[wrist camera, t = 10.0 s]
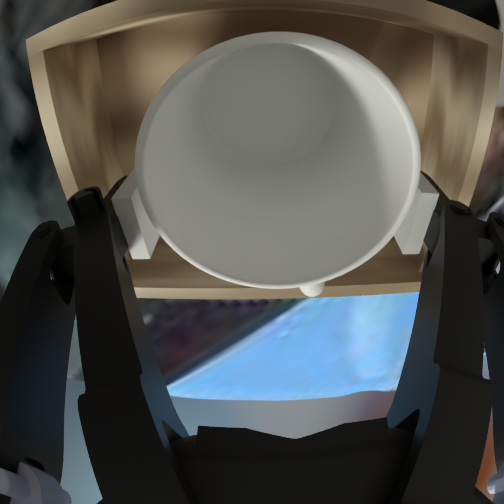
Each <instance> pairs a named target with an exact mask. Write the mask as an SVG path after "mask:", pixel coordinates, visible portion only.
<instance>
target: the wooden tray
mask: <svg viewBox="0 0 504 504" xmlns="http://www.w3.org/2000/svg"><path fill="white" fill-rule="evenodd" d="M262 32H297V33H305V34H310V35H314V36H318V37H323V38H326V39H328V40H331V41H334V42H337V43H339V44H341V45H343V46H346V47H348V48H350V49H352V50H354V51H355V52H357V53H358V54H360V55H362V56H363V57H365V58H366V59H368V60H369V61H370V62H371V63H373V64H374V65H375V66H376V67H378V68H379V69H380V70H381V71H382V72H383V73H384V74H385V75H386V76H387V77H388V78H389V79H390V80H391V82H392V83H393V84H394V85H395V87H396V88H397V89H398V91H399V92H400V93H401V95H402V97H403V98H404V100H405V102H406V104H407V105H408V107H409V110H410V112H411V114H412V116H413V119H414V122H415V125H416V128H417V132H418V137H419V142H420V151H421V171H423V172H424V173H426V174H427V175H429V176H430V177H431V178H432V179H433V181H434V182H435V183H436V184H437V185H438V186H439V188H440V189H441V190H442V191H443V192H444V193H445V194H446V196H447V197H448V198H449V199H450V200H456V201H459V202H461V203H463V204H465V205H466V206H468V207H469V204H470V201H471V198H472V195H473V192H474V189H475V186H476V183H477V180H478V177H479V173H480V170H481V166H482V163H483V159H484V156H485V152H486V148H487V144H488V140H489V135H490V131H491V126H492V121H493V116H494V111H495V105H496V99H497V93H498V86H499V78H500V69H501V58H502V41H503V33H502V32H500V31H498V30H497V29H495V28H493V27H491V26H489V25H487V24H484V23H482V22H480V21H478V20H476V19H474V18H471V17H469V16H467V15H464V14H462V13H459V12H457V11H454V10H452V9H449V8H447V7H444V6H441V5H438V4H435V3H432V2H429V1H426V0H117V1H114V2H111V3H108V4H105V5H102V6H100V7H97V8H94V9H91V10H89V11H86V12H84V13H81V14H79V15H76V16H74V17H72V18H69V19H67V20H65V21H62V22H60V23H58V24H56V25H54V26H52V27H50V28H48V29H46V30H44V31H42V32H40V33H38V34H36V35H34V36H32V37H30V38H28V39H27V40H26V45H27V52H28V59H29V65H30V71H31V76H32V81H33V86H34V91H35V96H36V100H37V104H38V109H39V113H40V117H41V120H42V124H43V128H44V131H45V135H46V138H47V142H48V145H49V148H50V152H51V155H52V158H53V161H54V164H55V167H56V170H57V173H58V176H59V179H60V182H61V184H62V187H63V190H64V192H65V195H66V198H67V200H68V199H69V198H70V197H71V196H72V195H73V194H75V193H76V192H78V191H80V190H82V189H84V188H87V187H92V186H96V187H99V188H100V190H101V193H102V196H103V199H104V197H105V196H106V195H107V194H108V192H109V191H110V189H112V187H113V186H114V184H115V183H116V182H117V181H118V180H120V179H121V178H122V177H124V176H128V175H129V174H130V173H131V171H132V170H133V169H134V168H135V150H136V144H137V138H138V134H139V130H140V127H141V124H142V121H143V118H144V116H145V114H146V111H147V109H148V107H149V106H150V104H151V102H152V100H153V99H154V97H155V95H156V94H157V93H158V91H159V90H160V89H161V87H162V86H163V85H164V83H165V82H166V81H167V80H168V79H169V78H170V77H171V76H172V75H173V74H174V73H175V72H176V71H177V70H178V69H179V68H180V67H182V66H183V65H184V64H185V63H186V62H188V61H189V60H191V59H192V58H194V57H195V56H197V55H198V54H200V53H201V52H203V51H205V50H207V49H209V48H211V47H213V46H215V45H217V44H219V43H222V42H225V41H227V40H230V39H233V38H236V37H240V36H244V35H249V34H254V33H262ZM427 250H428V248H427V246H426V244H425V243H424V242H423V245H422V247H421V250H420V253H419V254H402V251H401V249H400V247H399V245H398V243H397V241H396V239H395V237H394V236H393V237H392V238H391V240H390V241H389V242H388V243H387V244H386V245H385V246H384V247H383V248H382V249H381V250H380V251H379V252H377V253H376V254H375V255H374V256H373V257H371V258H370V259H369V260H367V261H366V262H364V263H363V264H361V265H360V266H358V267H356V268H355V269H353V270H351V271H349V272H347V273H345V274H343V275H341V276H338V277H336V278H333V279H331V280H328V281H325V287H324V289H323V291H322V292H321V293H320V294H319V295H317V296H315V297H309V296H307V295H305V294H304V293H303V292H302V291H301V290H300V287H297V288H287V289H267V288H256V287H250V286H244V285H240V284H236V283H232V282H229V281H226V280H223V279H220V278H217V277H215V276H213V275H210V274H208V273H206V272H204V271H203V270H201V269H199V268H197V267H196V266H194V265H192V264H191V263H189V262H188V261H187V260H185V259H184V258H183V257H181V256H180V255H179V254H178V253H177V252H175V251H174V250H173V249H172V248H171V247H170V246H169V245H168V244H167V243H166V242H165V241H164V239H163V238H162V237H161V236H159V238H158V241H157V243H156V246H155V248H154V251H153V253H152V256H151V258H150V259H132V256H131V254H130V251H129V248H128V249H127V251H126V253H125V258H126V260H127V263H128V266H129V270H130V274H131V278H132V282H133V286H134V290H135V293H136V297H137V298H169V299H281V298H317V297H342V296H362V295H379V294H395V293H409V292H420V286H421V280H422V273H423V270H422V272H421V273H420V272H419V270H420V267H421V265H422V262H423V260H424V258H425V255H426V253H427Z"/></svg>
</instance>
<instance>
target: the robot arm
mask: <svg viewBox="0 0 504 504" xmlns="http://www.w3.org/2000/svg"><path fill="white" fill-rule="evenodd" d="M67 204H68V206H69V209H70V211H71V214H72V216H73V218H74V221H75V225H74V226H71V227H68V228H65V229H62V230H61V229H60V227H59V224H58V223H57V221H54V220H52V221H48V222H44V223H42V224H40V225H39V226H38V227H37V228H36V229H35V230H34V231H33V232H32V234H31V235H30V237H29V239H28V241H27V243H26V245H25V247H24V249H23V252H22V254H21V256H20V258H19V260H18V262H17V265H16V267H15V269H14V271H13V274H12V276H11V278H10V281H9V283H8V286H7V288H6V291H5V293H4V296H3V298H2V301H1V304H0V504H71V497H70V495H69V494H68V492H66V491H65V490H63V489H62V487H61V485H60V482H61V477H62V468H63V451H64V408H65V391H66V380H67V370H68V361H69V353H70V346H71V339H72V332H73V326H74V320H75V315H76V318H77V329H78V339H79V347H80V355H81V362H82V369H83V375H84V381H85V386H86V387H85V388H86V391H85V393H84V394H82V395H80V396H79V398H78V411H79V416H80V421H81V425H82V430H83V434H84V438H85V442H86V446H87V450H88V454H89V458H90V461H91V464H92V468H93V471H94V474H95V478H96V481H97V483H98V486H99V490H100V492H101V495H102V498H103V499H102V500H101V501H99V502H98V503H97V504H504V215H503V214H499V213H496V212H492V213H490V214H489V217H488V219H487V222H485V221H482V220H479V219H475V217H474V214H473V211H472V210H471V209H470V208H469V207H468V206H466V205H465V204H463V203H461V202H459V201H456V200H450V199H449V198H448V197H447V196H446V194H445V193H444V192H443V191H442V190H441V189H440V188H439V186H438V185H437V184H436V183H435V182H434V181H433V179H432V178H431V177H430V176H429V175H427V174H426V173H424V172H423V171H420V179H419V184H418V188H417V192H416V196H415V199H414V201H413V204H412V206H411V209H410V211H409V213H408V215H407V217H406V218H405V220H404V222H403V224H402V225H401V227H400V228H399V229H398V231H397V232H396V234H395V235H394V237H395V239H396V241H397V243H398V245H399V247H400V249H401V251H402V254H419V253H420V250H421V247H422V245H423V242H424V243H425V244H426V246H427V248H428V250H427V253H426V255H425V258H424V260H423V262H422V265H421V267H420V270H419V272H420V273H421V272H422V270H423V273H422V280H421V286H420V293H419V298H418V304H417V309H416V315H415V320H414V324H413V329H412V334H411V338H410V342H409V347H408V351H407V355H406V358H405V362H404V366H403V370H402V373H401V377H400V380H399V383H398V387H397V390H396V393H395V396H394V400H393V403H392V405H391V408H390V410H389V412H388V413H387V415H386V417H385V418H379V419H374V420H366V421H359V422H352V423H344V424H341V425H339V426H336V427H333V428H330V429H327V430H324V431H321V432H318V433H315V434H312V435H309V436H306V437H302V438H298V439H291V438H286V437H281V436H276V435H272V434H267V433H262V432H259V431H254V430H250V429H247V428H226V427H209V426H198V432H197V435H193V436H189V435H188V433H187V431H186V429H185V427H184V425H183V424H182V422H181V420H180V419H179V417H178V415H177V413H176V410H175V408H174V406H173V403H172V401H171V398H170V395H169V393H168V390H167V388H166V385H165V382H164V380H163V377H162V374H161V372H160V369H159V366H158V363H157V361H156V358H155V355H154V352H153V349H152V346H151V343H150V340H149V337H148V334H147V331H146V327H145V324H144V321H143V318H142V314H141V311H140V307H139V304H138V300H137V297H136V293H135V290H134V286H133V282H132V278H131V274H130V270H129V266H128V263H127V260H126V258H125V253H126V251H127V249H128V248H129V251H130V254H131V256H132V259H150V258H151V256H152V253H153V251H154V248H155V246H156V243H157V241H158V238H159V236H160V234H159V233H158V232H157V230H156V229H155V227H154V226H153V224H152V223H151V221H150V219H149V217H148V215H147V213H146V211H145V209H144V206H143V204H142V201H141V198H140V194H139V191H138V187H137V181H136V175H135V168H134V169H133V170H132V171H131V173H130V174H129V175H128V176H124V177H122V178H121V179H120V180H118V181H117V182H116V183H115V184H114V186H113V187H112V189H110V191H109V192H108V194H107V195H106V196H105V197H104V199H103V196H102V193H101V190H100V188H99V187H96V186H92V187H87V188H84V189H82V190H80V191H78V192H76V193H75V194H73V195H72V196H71V197H70V198H69V199H68V202H67ZM499 262H500V271H499V273H498V274H497V272H496V270H495V269H496V268H497V266H498V264H499ZM50 276H51V278H52V280H51V278H50ZM484 344H485V349H486V356H487V362H488V369H489V377H490V380H488V379H485V378H483V376H482V367H483V352H484ZM491 408H492V412H493V438H494V451H495V462H496V467H497V474H494V475H493V476H492V477H491V478H490V479H489V481H488V485H487V488H488V492H489V493H490V494H494V498H493V501H491V500H490V499H488V498H487V497H486V496H485V495H484V494H483V493H482V492H481V491H479V490H478V489H477V488H476V487H475V484H476V481H477V477H478V474H479V470H480V465H481V462H482V457H483V453H484V449H485V443H486V439H487V433H488V428H489V422H490V415H491Z"/></svg>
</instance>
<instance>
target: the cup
mask: <svg viewBox="0 0 504 504" xmlns="http://www.w3.org/2000/svg"><path fill="white" fill-rule="evenodd" d="M420 171H421V151H420V142H419V137H418V132H417V128H416V125H415V122H414V119H413V116H412V114H411V112H410V110H409V107H408V105H407V104H406V102H405V100H404V98H403V97H402V95H401V93H400V92H399V91H398V89H397V88H396V87H395V85H394V84H393V83H392V82H391V80H390V79H389V78H388V77H387V76H386V75H385V74H384V73H383V72H382V71H381V70H380V69H379V68H378V67H376V66H375V65H374V64H373V63H371V62H370V61H369V60H368V59H366V58H365V57H363V56H362V55H360V54H358V53H357V52H355V51H354V50H352V49H350V48H348V47H346V46H343V45H341V44H339V43H337V42H334V41H331V40H328V39H326V38H323V37H318V36H314V35H310V34H305V33H297V32H262V33H254V34H249V35H244V36H240V37H236V38H233V39H230V40H227V41H225V42H222V43H219V44H217V45H215V46H213V47H211V48H209V49H207V50H205V51H203V52H201V53H200V54H198V55H197V56H195V57H194V58H192V59H191V60H189V61H188V62H186V63H185V64H184V65H183V66H182V67H180V68H179V69H178V70H177V71H176V72H175V73H174V74H173V75H172V76H171V77H170V78H169V79H168V80H167V81H166V82H165V83H164V85H163V86H162V87H161V89H160V90H159V91H158V93H157V94H156V95H155V97H154V99H153V100H152V102H151V104H150V106H149V107H148V109H147V111H146V114H145V116H144V118H143V121H142V124H141V127H140V130H139V134H138V138H137V144H136V150H135V175H136V181H137V187H138V191H139V194H140V198H141V201H142V204H143V206H144V209H145V211H146V213H147V215H148V217H149V219H150V221H151V223H152V224H153V226H154V227H155V229H156V230H157V232H158V233H159V234H160V236H161V237H162V238H163V239H164V241H165V242H166V243H167V244H168V245H169V246H170V247H171V248H172V249H173V250H174V251H175V252H177V253H178V254H179V255H180V256H181V257H183V258H184V259H185V260H187V261H188V262H189V263H191V264H192V265H194V266H196V267H197V268H199V269H201V270H203V271H204V272H206V273H208V274H210V275H213V276H215V277H217V278H220V279H223V280H226V281H229V282H232V283H236V284H240V285H244V286H250V287H256V288H267V289H287V288H297V287H300V290H301V291H302V292H303V293H304V294H305V295H307V296H309V297H315V296H317V295H319V294H320V293H321V292H322V291H323V289H324V287H325V281H328V280H331V279H333V278H336V277H338V276H341V275H343V274H345V273H347V272H349V271H351V270H353V269H355V268H356V267H358V266H360V265H361V264H363V263H364V262H366V261H367V260H369V259H370V258H371V257H373V256H374V255H375V254H376V253H377V252H379V251H380V250H381V249H382V248H383V247H384V246H385V245H386V244H387V243H388V242H389V241H390V240H391V238H392V237H393V236H394V235H395V234H396V232H397V231H398V229H399V228H400V227H401V225H402V224H403V222H404V220H405V218H406V217H407V215H408V213H409V211H410V209H411V206H412V204H413V201H414V199H415V196H416V192H417V188H418V184H419V179H420Z"/></svg>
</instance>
